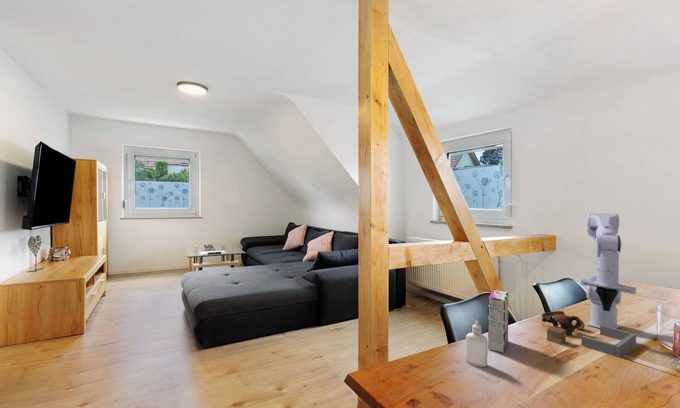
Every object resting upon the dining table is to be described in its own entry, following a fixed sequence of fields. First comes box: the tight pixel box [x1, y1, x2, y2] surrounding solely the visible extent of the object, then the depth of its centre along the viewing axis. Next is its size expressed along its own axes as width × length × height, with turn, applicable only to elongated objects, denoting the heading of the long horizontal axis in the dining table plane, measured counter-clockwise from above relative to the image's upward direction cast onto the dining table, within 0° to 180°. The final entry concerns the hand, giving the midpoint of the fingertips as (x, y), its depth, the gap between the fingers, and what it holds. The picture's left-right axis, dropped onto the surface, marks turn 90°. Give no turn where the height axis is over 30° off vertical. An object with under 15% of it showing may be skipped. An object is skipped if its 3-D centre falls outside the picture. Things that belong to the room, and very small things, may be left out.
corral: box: [581, 325, 637, 358], centre depth 107 cm, size 18×9×3 cm, turn 125°
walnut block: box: [546, 325, 567, 345], centre depth 109 cm, size 4×4×4 cm
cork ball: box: [572, 319, 586, 330], centre depth 120 cm, size 4×4×4 cm
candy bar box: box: [487, 289, 509, 354], centre depth 105 cm, size 11×5×16 cm, turn 148°
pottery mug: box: [541, 310, 582, 336], centre depth 118 cm, size 12×10×8 cm
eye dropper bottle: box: [464, 320, 488, 368], centre depth 92 cm, size 4×6×12 cm
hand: (606, 310), depth 111 cm, fingers closed
